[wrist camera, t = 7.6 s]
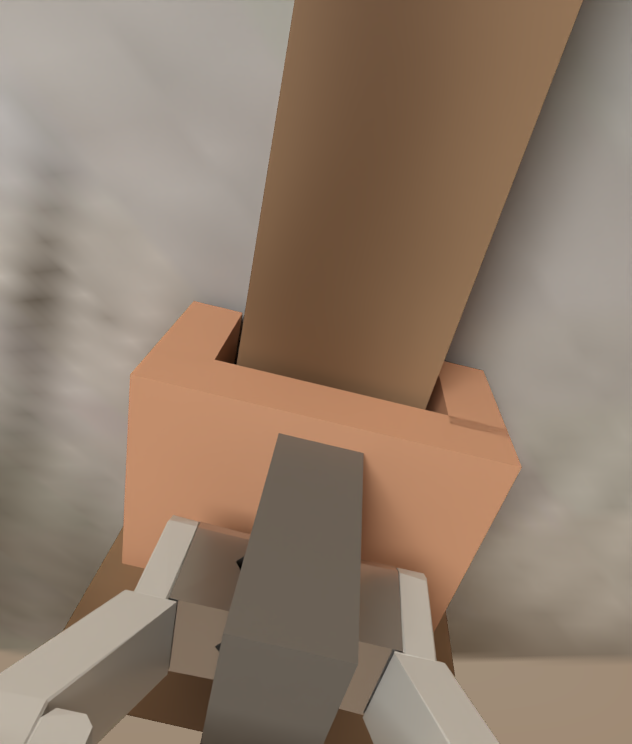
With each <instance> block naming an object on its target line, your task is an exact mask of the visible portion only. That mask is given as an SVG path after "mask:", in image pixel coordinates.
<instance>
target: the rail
mask: <svg viewBox="0 0 632 744" xmlns="http://www.w3.org/2000/svg"><path fill="white" fill-rule="evenodd" d="M582 2H583V0H295V2H294V8H293V15H292V21H291V27H290V33H289V40H288V46H287V52H286V58H285V65H284V71H283V77H282V83H281V90H280V96H279V102H278V108H277V115H276V121H275V127H274V133H273V140H272V146H271V152H270V158H269V165H268V171H267V177H266V183H265V190H264V196H263V202H262V208H261V215H260V221H259V227H258V233H257V240H256V246H255V252H254V258H253V265H252V271H251V277H250V283H249V290H248V296H247V302H246V308H245V315H244V321H243V327H242V333H241V340H240V346H239V352H238V358H237V364H236V365H239V366H243V367H247V368H252V369H256V370H260V371H264V372H268V373H273V374H277V375H281V376H285V377H289V378H294V379H298V380H302V381H306V382H310V383H315V384H319V385H323V386H327V387H331V388H336V389H340V390H344V391H348V392H352V393H356V394H361V395H365V396H369V397H373V398H377V399H382V400H386V401H390V402H394V403H398V404H403V405H407V406H411V407H415V408H419V409H424V410H425V409H426V406H427V404H428V401H429V399H430V396H431V393H432V391H433V388H434V386H435V383H436V380H437V378H438V375H439V373H440V370H441V368H442V365H443V362H444V360H445V357H446V355H447V352H448V349H449V347H450V344H451V342H452V339H453V336H454V334H455V331H456V329H457V326H458V323H459V321H460V318H461V316H462V313H463V310H464V308H465V305H466V303H467V300H468V297H469V295H470V292H471V290H472V287H473V284H474V282H475V279H476V277H477V274H478V272H479V269H480V266H481V264H482V261H483V259H484V256H485V253H486V251H487V248H488V246H489V243H490V240H491V238H492V235H493V233H494V230H495V227H496V225H497V222H498V220H499V217H500V214H501V212H502V209H503V207H504V204H505V201H506V199H507V196H508V194H509V191H510V189H511V186H512V183H513V181H514V178H515V176H516V173H517V170H518V168H519V165H520V163H521V160H522V157H523V155H524V152H525V150H526V147H527V144H528V142H529V139H530V137H531V134H532V131H533V129H534V126H535V124H536V121H537V118H538V116H539V113H540V111H541V108H542V105H543V103H544V100H545V98H546V95H547V93H548V90H549V87H550V85H551V82H552V80H553V77H554V74H555V72H556V69H557V67H558V64H559V61H560V59H561V56H562V54H563V51H564V48H565V46H566V43H567V41H568V38H569V35H570V33H571V30H572V28H573V25H574V22H575V20H576V17H577V15H578V12H579V10H580V7H581V4H582ZM123 527H124V526H123ZM122 550H123V528H122V530H121V531H120V533H119V535H118V537H117V538H116V540H115V542H114V544H113V545H112V547H111V549H110V551H109V552H108V554H107V556H106V557H105V559H104V561H103V563H102V564H101V566H100V568H99V570H98V571H97V573H96V575H95V576H94V578H93V580H92V582H91V583H90V585H89V587H88V589H87V590H86V592H85V594H84V595H83V597H82V599H81V601H80V602H79V604H78V606H77V608H76V609H75V611H74V613H73V615H72V616H71V618H70V620H69V621H68V623H67V625H66V627H65V628H64V630H65V629H67V628H68V627H70V626H71V625H73V624H74V623H76V622H77V621H79V620H80V619H82V618H83V617H85V616H86V615H88V614H89V613H91V612H92V611H94V610H95V609H97V608H98V607H100V606H101V605H103V604H104V603H106V602H107V601H109V600H110V599H112V598H113V597H115V596H116V595H118V594H119V593H121V592H122V591H124V590H130V591H134V590H135V588H136V586H137V584H138V582H139V580H140V578H141V576H142V574H143V571H144V568H140V567H136V566H131V565H127V564H123V563H122ZM64 630H63V631H64ZM433 634H434V643H435V651H436V659H437V661H440V662H443V663H446V665H447V666H448V668H449V669H450V671H451V672H452V674H453V675H454V677H455V674H454V666H453V659H452V652H451V645H450V638H449V631H448V624H447V617H446V611H445V612H444V614H443V616H442V618H441V620H440V622H439V624H438V626H437V628H436V629H435V631H434V633H433ZM212 685H213V679H208V678H203V677H198V676H192V675H187V674H182V673H177V672H172V671H168V674H167V675H166V676H165V677H164V678H163V679H162V680H161V681H160V682H159V683H158V684H157V685H156V686H155V687H154V688H153V689H152V690H151V691H150V692H149V693H148V694H147V695H146V696H145V697H144V698H143V699H142V700H141V701H140V702H139V703H138V704H137V705H136V706H135V707H134V708H133V709H132V710H131V711H130V712H129V713H128V714H127V715H130V716H135V717H139V718H143V719H148V720H152V721H157V722H161V723H165V724H170V725H174V726H179V727H183V728H188V729H192V730H197V731H201V732H203V728H204V724H205V719H206V714H207V709H208V704H209V699H210V694H211V690H212ZM363 716H364V715H361V714H357V713H354V712H350V711H346V710H342V709H338V712H337V714H336V716H335V718H334V721H333V723H332V725H331V728H330V730H329V732H328V734H327V737H326V739H325V741H324V744H373V741H372V739H371V736H370V734H369V732H368V729H367V727H366V725H365V722H364V720H363Z"/></svg>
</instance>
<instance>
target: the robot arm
mask: <svg viewBox="0 0 632 744" xmlns="http://www.w3.org/2000/svg"><path fill="white" fill-rule="evenodd" d="M250 535H251V534H247V533H243V532H239V531H235V530H231V529H228V528H224V527H220V526H216V525H212V524H208V523H204V522H199V521H195V520H191V519H187V518H183V517H179V516H175V515H173V516H172V517H171V518H170V519H169V521H168V522H167V524H166V526H165V528H164V530H163V532H162V534H161V536H160V538H159V540H158V543H157V545H156V547H155V549H154V551H153V553H152V555H151V557H150V559H149V561H148V563H147V565H146V567H145V569H144V571H143V574H142V576H141V578H140V580H139V582H138V584H137V586H136V588H135V590H134V591H130V590H124V591H122V592H121V593H119V594H118V595H116V596H115V597H113V598H112V599H110V600H109V601H107V602H106V603H104V604H103V605H101V606H100V607H98V608H97V609H95V610H94V611H92V612H91V613H89V614H88V615H86V616H85V617H83V618H82V619H80V620H79V621H77V622H76V623H74V624H73V625H71V626H70V627H68V628H67V629H65V630H64V631H62V632H61V633H59V634H58V635H56V636H55V637H53V638H52V639H50V640H49V641H47V642H46V643H44V644H43V645H41V646H40V647H38V648H37V649H35V650H34V651H32V652H31V653H29V654H28V655H26V656H25V657H23V658H22V659H20V660H19V661H18V662H16V663H14V664H13V665H11V666H10V667H8V668H7V669H5V670H4V671H2V672H1V673H0V744H97V743H98V742H99V741H100V740H101V739H102V738H103V737H104V736H105V735H106V734H107V733H108V732H109V731H110V730H111V729H113V728H114V726H115V725H117V724H118V723H119V722H120V721H121V720H122V719H123V718H124V717H125V716H126V715H127V714H128V713H129V712H130V711H131V710H132V709H133V708H134V707H135V706H136V705H137V704H138V703H139V702H140V701H141V700H142V699H143V698H144V697H145V696H146V695H147V694H148V693H149V692H150V691H151V690H152V689H153V688H154V687H155V686H156V685H157V684H158V683H159V682H160V681H161V680H162V679H163V678H164V677H165V676H166V675H167V674H168V671H172V672H177V673H182V674H187V675H192V676H198V677H203V678H208V679H213V680H214V675H215V670H216V665H217V660H218V656H219V651H220V646H221V641H222V636H223V632H224V628H225V625H226V621H227V617H228V614H229V610H230V607H231V603H232V600H233V596H234V592H235V589H236V585H237V582H238V578H239V574H240V571H241V567H242V564H243V560H244V556H245V553H246V549H247V546H248V542H249V538H250ZM339 709H342V710H346V711H350V712H354V713H357V714H361V715H364V716H363V720H364V722H365V725H366V727H367V729H368V732H369V734H370V736H371V739H372V741H373V744H500V743H499V742H498V740H497V739H496V737H495V736H494V734H493V733H492V731H491V730H490V728H489V727H488V725H487V724H486V723H485V721H484V719H483V718H482V716H481V715H480V713H479V712H478V711H477V709H476V708H475V706H474V705H473V703H472V702H471V700H470V699H469V697H468V696H467V695H466V693H465V691H464V690H463V689H462V687H461V686H460V684H459V683H458V681H457V680H456V678H455V677H454V675H453V674H452V672H451V671H450V669H449V668H448V666H447V665H446V663H443V662H440V661H437V659H436V651H435V643H434V634H433V626H432V617H431V609H430V601H429V592H428V584H427V578H426V576H425V575H424V573H419V572H415V571H411V570H406V569H402V568H395V567H394V566H390V565H385V564H380V563H376V562H371V561H367V560H362V559H361V572H360V610H359V649H358V666H357V668H356V670H355V673H354V675H353V677H352V679H351V682H350V684H349V686H348V689H347V691H346V693H345V695H344V698H343V700H342V702H341V705H340V707H339Z"/></svg>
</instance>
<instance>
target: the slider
mask: <svg viewBox="0 0 632 744" xmlns="http://www.w3.org/2000/svg"><path fill="white" fill-rule="evenodd" d="M241 319H242V313H241V312H237V311H233V310H229V309H224V308H220V307H216V306H212V305H208V304H204V303H199V302H195V301H194V302H193V303H192V304H191V305H190V306H189V307H188V308H187V310H186V311H185V312H184V313H183V314H182V315H181V317H180V318H179V319H178V320H177V321H176V322H175V323H174V325H173V326H172V327H171V328H170V329H169V330H168V332H167V333H166V334H165V335H164V336H163V337H162V338H161V340H160V341H159V342H158V343H157V344H156V345H155V347H154V348H153V349H152V350H151V351H150V352H149V353H148V355H147V356H146V357H145V358H144V359H143V360H142V361H141V363H140V364H139V365H138V366H137V367H136V368H135V370H134V371H133V372H132V373H131V374H130V392H129V414H128V437H127V459H126V482H125V505H124V527H123V550H122V563H123V564H127V565H131V566H136V567H140V568H144V569H145V567H146V565H147V563H148V561H149V559H150V557H151V555H152V553H153V551H154V549H155V547H156V545H157V543H158V540H159V538H160V536H161V534H162V532H163V530H164V528H165V526H166V524H167V522H168V521H169V519H170V518H171V517H172V516H173V515H175V516H179V517H183V518H187V519H191V520H195V521H199V522H204V523H208V524H212V525H216V526H220V527H224V528H228V529H231V530H235V531H239V532H243V533H247V534H251V535H250V538H249V542H248V546H247V549H246V553H245V556H244V560H243V564H242V567H241V571H240V574H239V578H238V582H237V585H236V589H235V592H234V596H233V600H232V603H231V607H230V610H229V614H228V617H227V621H226V625H225V628H224V632H223V636H222V641H221V646H220V651H219V656H218V660H217V665H216V670H215V675H214V680H213V685H212V690H211V694H210V699H209V704H208V709H207V714H206V719H205V724H204V728H203V733H202V739H201V743H200V744H324V741H325V739H326V737H327V734H328V732H329V730H330V728H331V725H332V723H333V721H334V718H335V716H336V714H337V712H338V709H339V707H340V705H341V702H342V700H343V698H344V695H345V693H346V691H347V689H348V686H349V684H350V682H351V679H352V677H353V675H354V673H355V670H356V668H357V666H358V649H359V610H360V572H361V559H362V560H367V561H371V562H376V563H380V564H385V565H390V566H394V567H395V568H402V569H406V570H411V571H415V572H419V573H424V575H425V576H426V578H427V584H428V592H429V601H430V609H431V617H432V626H433V633H434V631H435V629H436V628H437V626H438V624H439V622H440V620H441V618H442V616H443V614H444V612H445V611H446V609H447V607H448V605H449V603H450V601H451V599H452V597H453V596H454V594H455V592H456V590H457V588H458V586H459V584H460V582H461V580H462V579H463V577H464V575H465V573H466V571H467V569H468V567H469V565H470V564H471V562H472V560H473V558H474V556H475V554H476V552H477V550H478V549H479V547H480V545H481V543H482V541H483V539H484V537H485V535H486V533H487V532H488V530H489V528H490V526H491V524H492V522H493V520H494V518H495V517H496V515H497V513H498V511H499V509H500V507H501V505H502V503H503V501H504V500H505V498H506V496H507V494H508V492H509V490H510V488H511V486H512V485H513V483H514V481H515V479H516V477H517V475H518V473H519V471H520V470H521V468H522V467H521V464H520V462H519V459H518V457H517V454H516V452H515V449H514V447H513V444H512V442H511V439H510V437H509V434H508V432H507V429H506V427H505V424H504V422H503V419H502V417H501V414H500V412H499V409H498V407H497V404H496V402H495V399H494V397H493V394H492V392H491V389H490V387H489V384H488V382H487V379H486V377H485V374H484V372H483V371H482V370H478V369H474V368H470V367H466V366H462V365H458V364H453V363H449V362H445V361H444V362H443V365H442V368H441V370H440V373H439V375H438V378H437V380H436V383H435V386H434V388H433V391H432V393H431V396H430V399H429V401H428V404H427V406H426V409H425V410H424V409H419V408H415V407H411V406H407V405H403V404H398V403H394V402H390V401H386V400H382V399H377V398H373V397H369V396H365V395H361V394H356V393H352V392H348V391H344V390H340V389H336V388H331V387H327V386H323V385H319V384H315V383H310V382H306V381H302V380H298V379H294V378H289V377H285V376H281V375H277V374H273V373H268V372H264V371H260V370H256V369H252V368H247V367H243V366H239V365H235V364H234V363H235V357H236V351H237V344H238V338H239V332H240V325H241Z"/></svg>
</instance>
